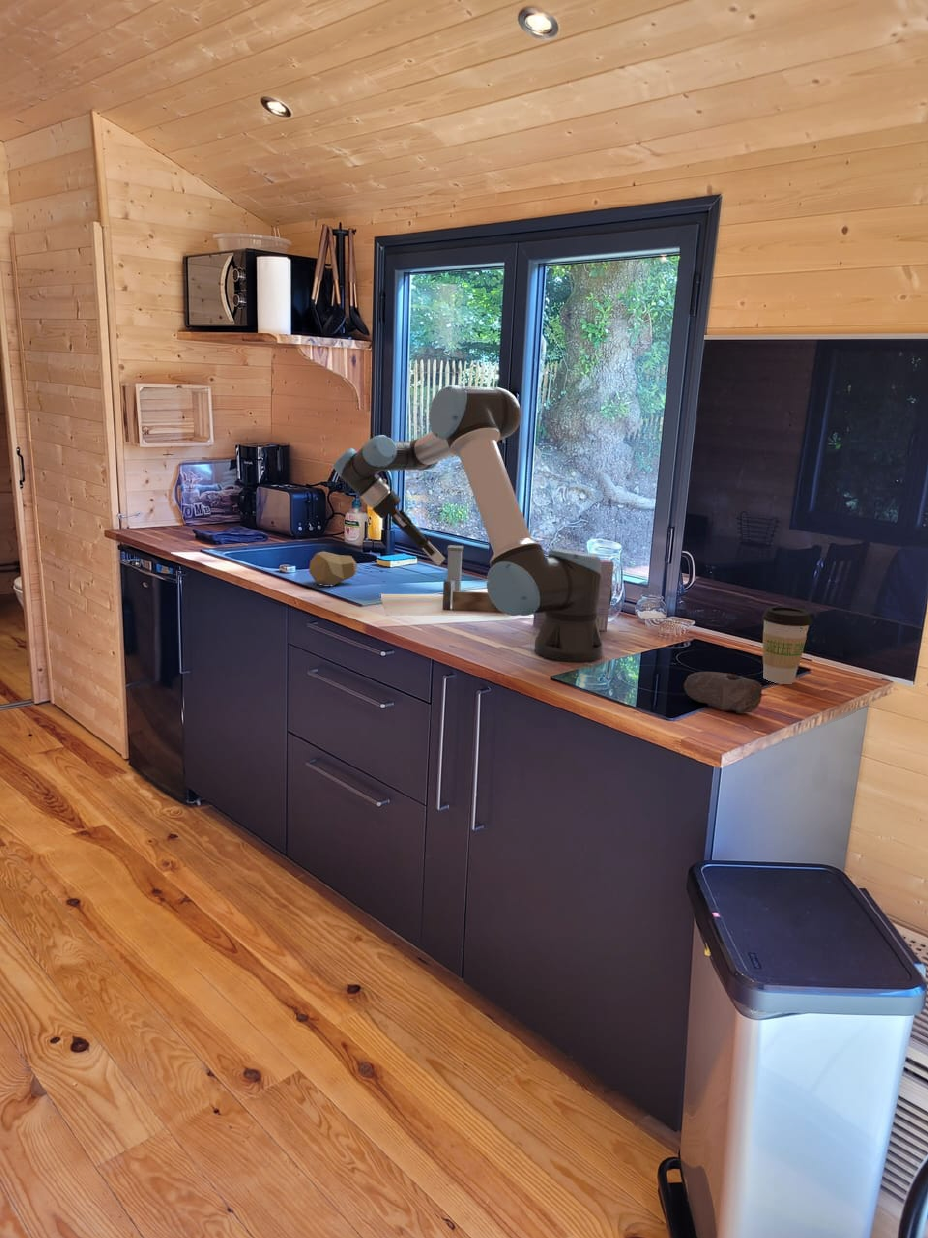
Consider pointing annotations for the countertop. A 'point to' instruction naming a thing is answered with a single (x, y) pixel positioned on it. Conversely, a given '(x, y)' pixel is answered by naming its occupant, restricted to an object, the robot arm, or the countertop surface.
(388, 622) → the countertop surface
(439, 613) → the board
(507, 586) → the robot arm
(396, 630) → the countertop surface
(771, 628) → the coffee cup
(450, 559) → the grey wall with post
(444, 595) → the fixed fence rail
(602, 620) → the cake pan box
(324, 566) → the low-poly potato
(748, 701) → the perforated stone tool
